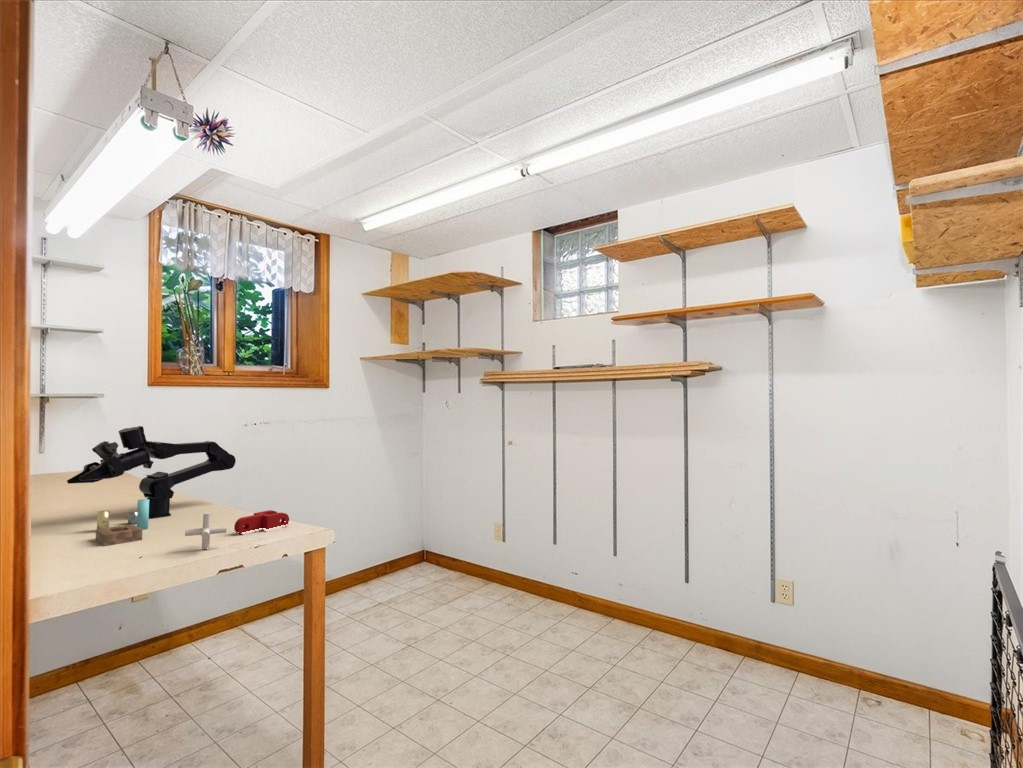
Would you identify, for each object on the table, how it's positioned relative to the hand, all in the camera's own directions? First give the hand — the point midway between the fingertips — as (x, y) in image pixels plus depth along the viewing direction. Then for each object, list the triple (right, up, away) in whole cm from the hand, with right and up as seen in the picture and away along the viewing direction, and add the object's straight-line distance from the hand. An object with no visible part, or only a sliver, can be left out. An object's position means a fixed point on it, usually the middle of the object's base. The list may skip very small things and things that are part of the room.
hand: (73, 480), depth 163 cm
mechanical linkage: (+54, -17, +7) cm, 57 cm away
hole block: (+20, -16, -8) cm, 27 cm away
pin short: (+11, -16, +10) cm, 22 cm away
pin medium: (+8, -16, +1) cm, 18 cm away
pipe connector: (+49, -17, -15) cm, 54 cm away
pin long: (+18, -16, +5) cm, 24 cm away
